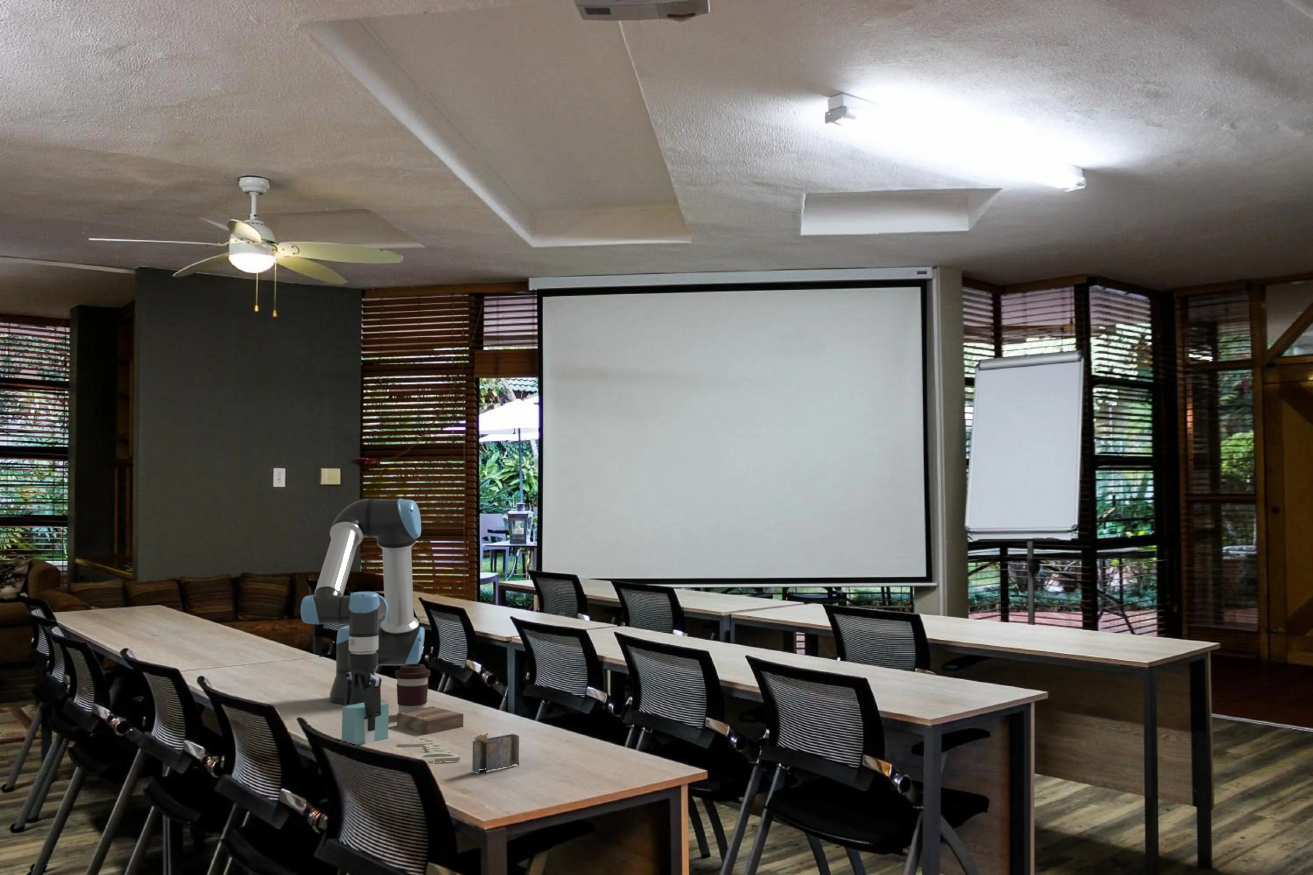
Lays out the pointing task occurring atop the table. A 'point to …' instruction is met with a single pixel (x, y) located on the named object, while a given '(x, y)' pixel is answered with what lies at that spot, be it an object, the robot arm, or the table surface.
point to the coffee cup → (412, 686)
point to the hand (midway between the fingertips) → (361, 740)
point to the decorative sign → (432, 751)
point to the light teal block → (362, 723)
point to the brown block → (430, 720)
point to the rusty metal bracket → (495, 752)
